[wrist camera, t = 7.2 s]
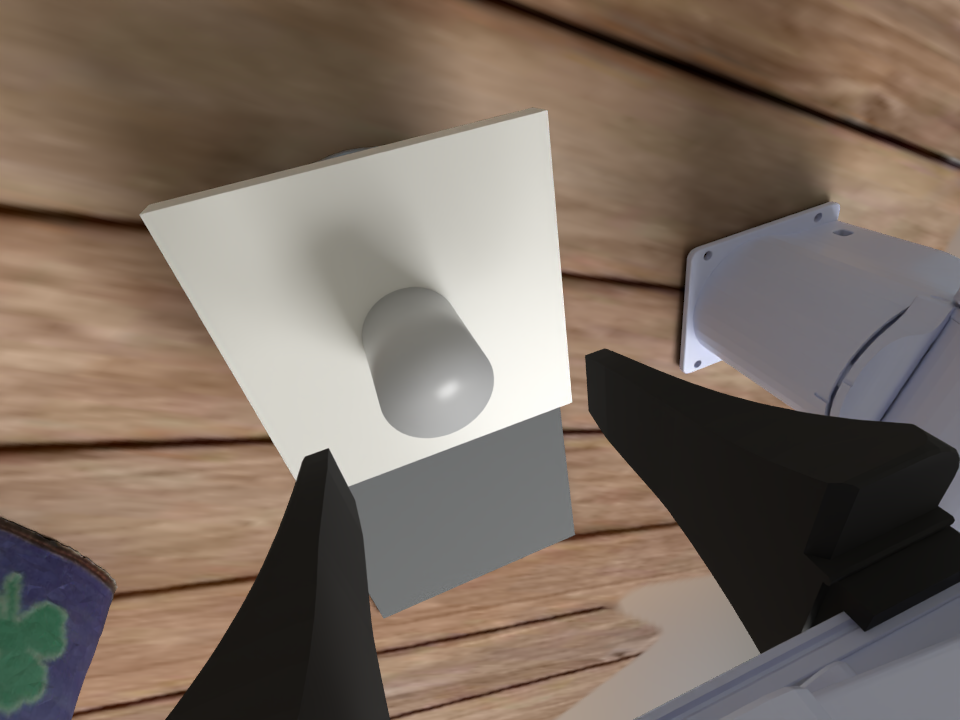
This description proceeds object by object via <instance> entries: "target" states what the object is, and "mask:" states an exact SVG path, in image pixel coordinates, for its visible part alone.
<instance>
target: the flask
mask: <svg viewBox="0 0 960 720" xmlns="http://www.w3.org/2000/svg"><path fill="white" fill-rule="evenodd" d="M116 589H117V586H116V582H115V579H113V578H111V576H110V575H109V574H108V573H107V572H106V571H105V570H102V568H100V567H98V566H96V565H95V564H94V563H93V562H91V560H89V559H87V558H83V556H81V555H80V553H79V552H76V551H74V550H73V549H71V548H69V547H65V546H63V545H61V544H60V543H59V542H55V541H49V540H48V539H45V538H43V537H42V536H40V535H39V534H37V532H33V531H30V530H28V529H25V528H24V527H21V526H19V525H17V524H15V523H14V522H9V521H7V520H4V519H2V518H1V517H0V720H71V719H72V716H73V713H74V709H75V706H76V702H77V699H78V696H79V693H80V690H81V687H82V684H83V681H84V678H85V676H86V673H87V670H88V668H89V666H90V663H91V661H92V658H93V656H94V653H95V650H96V647H97V644H98V641H99V638H100V636H101V634H102V631H103V628H104V624H105V621H106V617H107V614H108V611H109V607H110V604H111V602H112V600H113V595H114V593H115V591H116Z"/></svg>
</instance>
